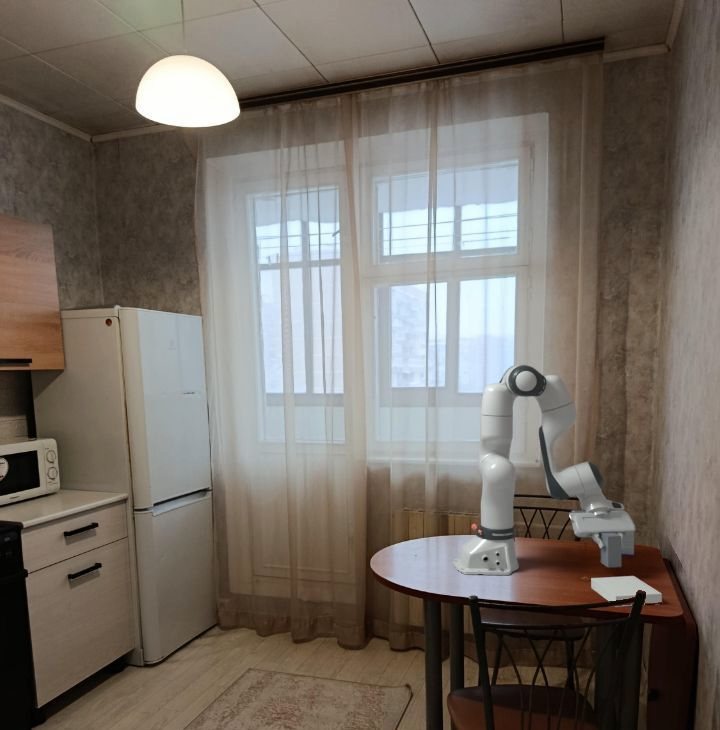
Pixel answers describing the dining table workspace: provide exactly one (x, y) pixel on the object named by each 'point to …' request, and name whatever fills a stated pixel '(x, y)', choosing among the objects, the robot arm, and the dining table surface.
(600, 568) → the dining table surface
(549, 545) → the dining table surface
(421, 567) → the dining table surface
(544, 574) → the dining table surface
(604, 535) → the grey rectangular block
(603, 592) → the plinth
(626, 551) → the supplement box
